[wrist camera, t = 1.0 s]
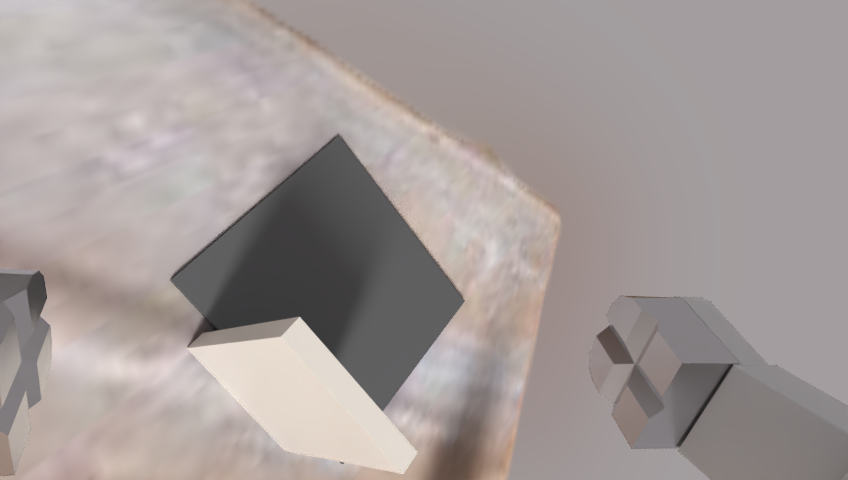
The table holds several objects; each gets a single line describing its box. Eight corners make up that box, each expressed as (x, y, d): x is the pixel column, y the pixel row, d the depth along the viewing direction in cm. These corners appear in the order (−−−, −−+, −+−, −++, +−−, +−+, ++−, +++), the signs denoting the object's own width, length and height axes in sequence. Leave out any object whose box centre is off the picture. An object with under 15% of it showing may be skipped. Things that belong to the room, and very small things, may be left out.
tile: (186, 348, 41) (280, 336, 30) (204, 331, 42) (301, 314, 31) (285, 451, 44) (403, 474, 33) (299, 433, 45) (419, 450, 34)
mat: (169, 279, 41) (171, 279, 41) (336, 137, 51) (339, 135, 51) (340, 463, 47) (343, 463, 46) (461, 301, 56) (464, 300, 56)
